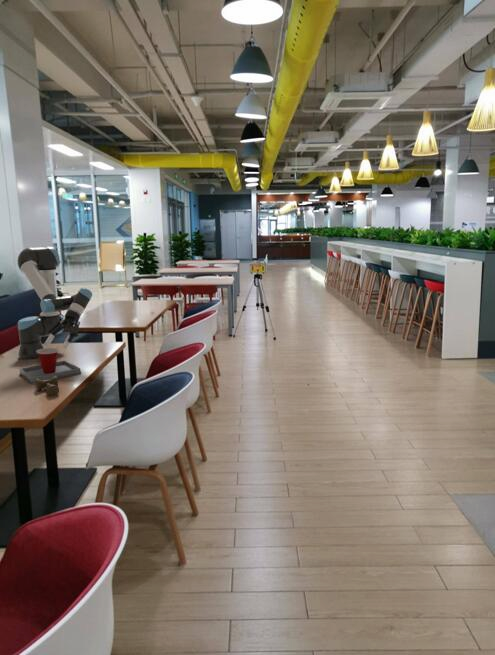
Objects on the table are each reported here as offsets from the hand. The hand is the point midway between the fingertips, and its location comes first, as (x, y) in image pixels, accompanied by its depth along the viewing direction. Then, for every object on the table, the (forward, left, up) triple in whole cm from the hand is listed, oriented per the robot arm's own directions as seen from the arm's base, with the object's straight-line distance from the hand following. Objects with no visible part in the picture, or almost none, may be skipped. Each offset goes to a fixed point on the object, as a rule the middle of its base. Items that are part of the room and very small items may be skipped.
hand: (55, 346), depth 263 cm
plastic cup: (+2, -5, -13) cm, 14 cm away
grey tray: (+2, -5, -14) cm, 15 cm away
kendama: (+32, -14, -14) cm, 38 cm away
